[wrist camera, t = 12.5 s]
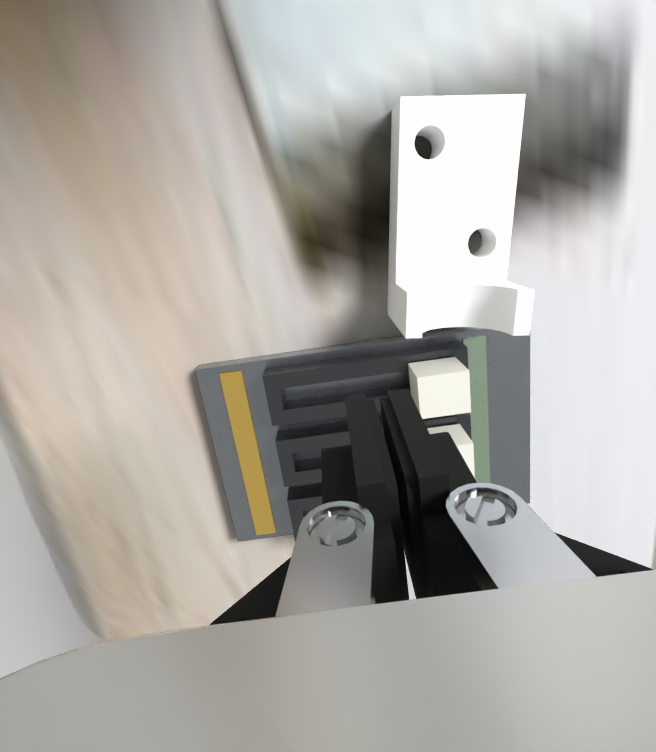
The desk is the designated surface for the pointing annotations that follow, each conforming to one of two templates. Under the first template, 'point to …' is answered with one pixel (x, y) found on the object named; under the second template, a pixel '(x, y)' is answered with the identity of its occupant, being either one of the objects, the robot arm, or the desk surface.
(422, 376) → the block
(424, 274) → the bracket
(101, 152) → the desk surface
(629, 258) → the desk surface
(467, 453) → the handle
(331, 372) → the breaker panel
